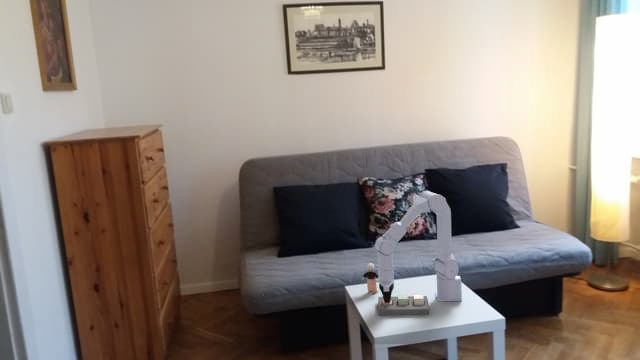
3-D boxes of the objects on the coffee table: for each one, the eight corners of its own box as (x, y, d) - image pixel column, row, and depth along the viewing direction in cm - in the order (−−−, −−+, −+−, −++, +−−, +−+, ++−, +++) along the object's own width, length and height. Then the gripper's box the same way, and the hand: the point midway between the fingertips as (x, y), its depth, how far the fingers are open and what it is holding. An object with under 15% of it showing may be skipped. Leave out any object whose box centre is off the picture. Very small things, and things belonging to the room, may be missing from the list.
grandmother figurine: (380, 290, 215) (379, 261, 213) (380, 293, 211) (379, 264, 209) (362, 290, 216) (361, 262, 214) (362, 294, 212) (360, 265, 210)
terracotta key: (392, 306, 198) (391, 299, 197) (392, 310, 194) (392, 303, 194) (383, 306, 198) (382, 300, 198) (383, 310, 195) (382, 303, 194)
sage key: (407, 301, 197) (407, 295, 196) (408, 305, 193) (407, 298, 193) (398, 302, 197) (397, 295, 197) (398, 305, 194) (398, 299, 193)
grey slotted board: (427, 301, 200) (426, 295, 200) (429, 315, 188) (429, 308, 188) (378, 302, 203) (378, 296, 202) (378, 315, 191) (378, 309, 190)
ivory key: (423, 301, 196) (423, 294, 195) (424, 305, 192) (423, 298, 192) (413, 301, 196) (413, 294, 196) (414, 305, 193) (414, 298, 192)
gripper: (375, 262, 201) (377, 294, 203) (374, 275, 187) (376, 310, 189) (393, 262, 200) (394, 294, 202) (394, 275, 186) (395, 309, 188)
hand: (387, 302), depth 196 cm, fingers closed, pressing on terracotta key
